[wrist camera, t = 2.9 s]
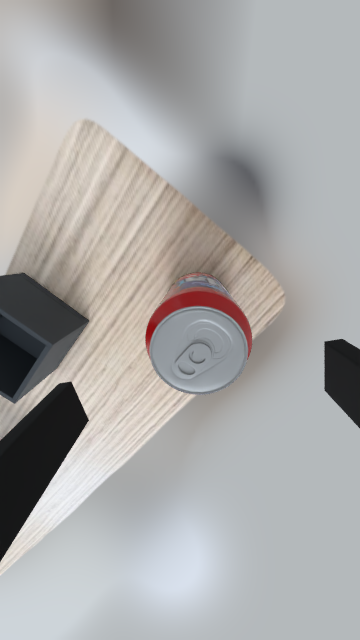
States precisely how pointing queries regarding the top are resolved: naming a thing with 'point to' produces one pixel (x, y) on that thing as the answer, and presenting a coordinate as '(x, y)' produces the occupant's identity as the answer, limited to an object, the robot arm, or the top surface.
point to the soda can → (198, 336)
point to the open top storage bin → (32, 334)
